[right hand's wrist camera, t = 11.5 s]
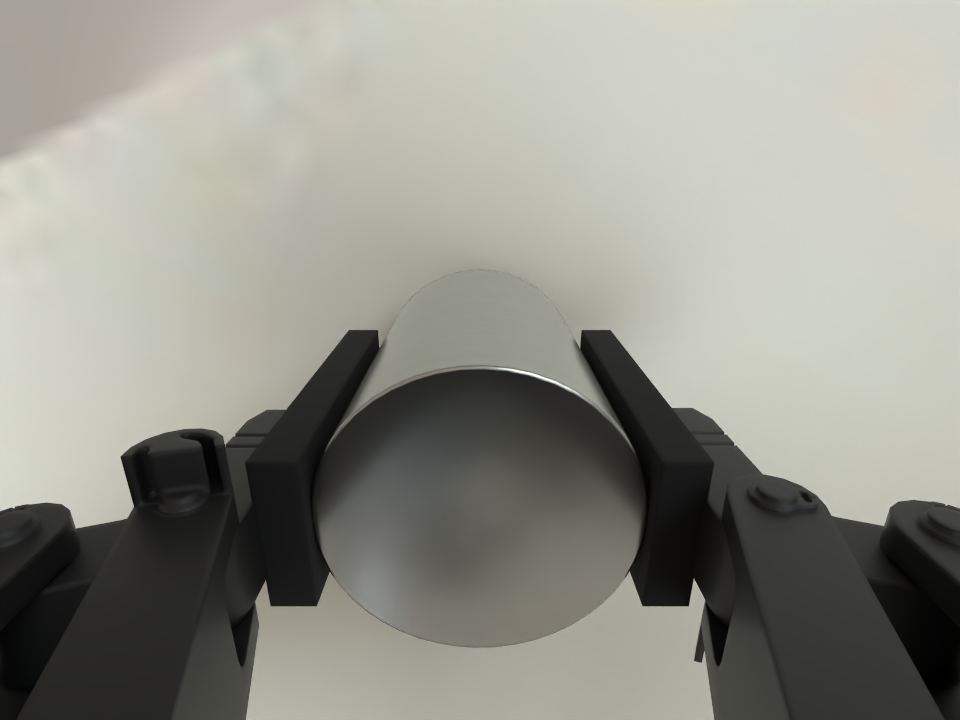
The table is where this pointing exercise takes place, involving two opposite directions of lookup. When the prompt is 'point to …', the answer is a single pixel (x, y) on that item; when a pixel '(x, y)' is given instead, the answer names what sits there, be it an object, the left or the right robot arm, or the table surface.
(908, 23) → the table surface
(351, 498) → the canister
